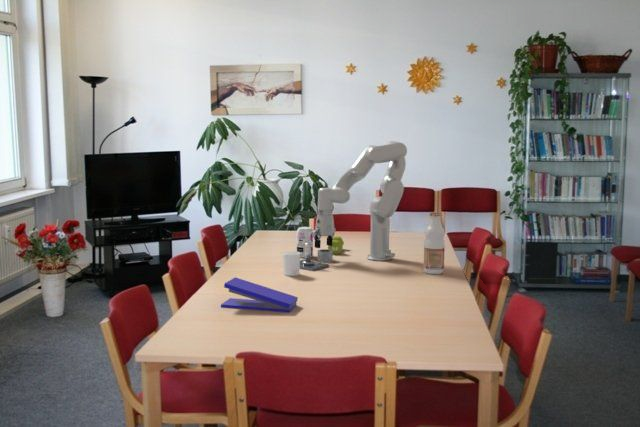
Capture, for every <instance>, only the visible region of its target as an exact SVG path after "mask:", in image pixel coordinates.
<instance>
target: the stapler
mask: <svg viewBox="0 0 640 427" xmlns="http://www.w3.org/2000/svg"><path fill="white" fill-rule="evenodd" d="M223 288H225V289H227V290H228V292H229V293H231V294H235V295H239V296H241V297H244V298H235V297H234V298H232V297H230V298H228V299H227V300H225V301H224V302H222V303H221V304H220V308H229V309H242V310H253V311H254V310H255V311H268V312H269V311H270V312H281V313H291V311H292V310H294V309H295V307H297V302H298V298H299V297H298V296H294V295H292V294H288V293H285V292H282V291H280V290H276V289H273V288H270V287H267V286H264V285H261V284H259V283H254V282H251V281H247V280H245V279H241V278H239V277H233V278H231V279H230V280H228V281H227V282H225V283H224V285H223Z"/></svg>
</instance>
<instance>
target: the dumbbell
mask: <svg viewBox="0 0 640 427" xmlns="http://www.w3.org/2000/svg"><path fill="white" fill-rule="evenodd" d="M344 244H345V242H344V240H343V238H342V237H341V236H337V235H335V236H334V235H333V240H332V246H328V245H327V249H328V250H332V251H333V255H340V254H341V252H342V250H343V247H344Z"/></svg>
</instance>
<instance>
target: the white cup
mask: <svg viewBox="0 0 640 427" xmlns="http://www.w3.org/2000/svg"><path fill="white" fill-rule="evenodd" d="M282 256H283V258H282V259H283V270H284V271H283V272H284V273H283V275H284V276H288V277H296V276H299V275H300V260H301V258H300V253H299V252H297V251H284V252H283V253H282Z"/></svg>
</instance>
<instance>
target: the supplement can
mask: <svg viewBox="0 0 640 427" xmlns="http://www.w3.org/2000/svg"><path fill="white" fill-rule="evenodd" d="M313 231H314V230H313V227H310V226H299V227H298V228H297V230H296V252H299V253H300V259H305V257H304V245H305V243H311V258H312V257H313V256H314V237H313V233H312V232H313Z"/></svg>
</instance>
